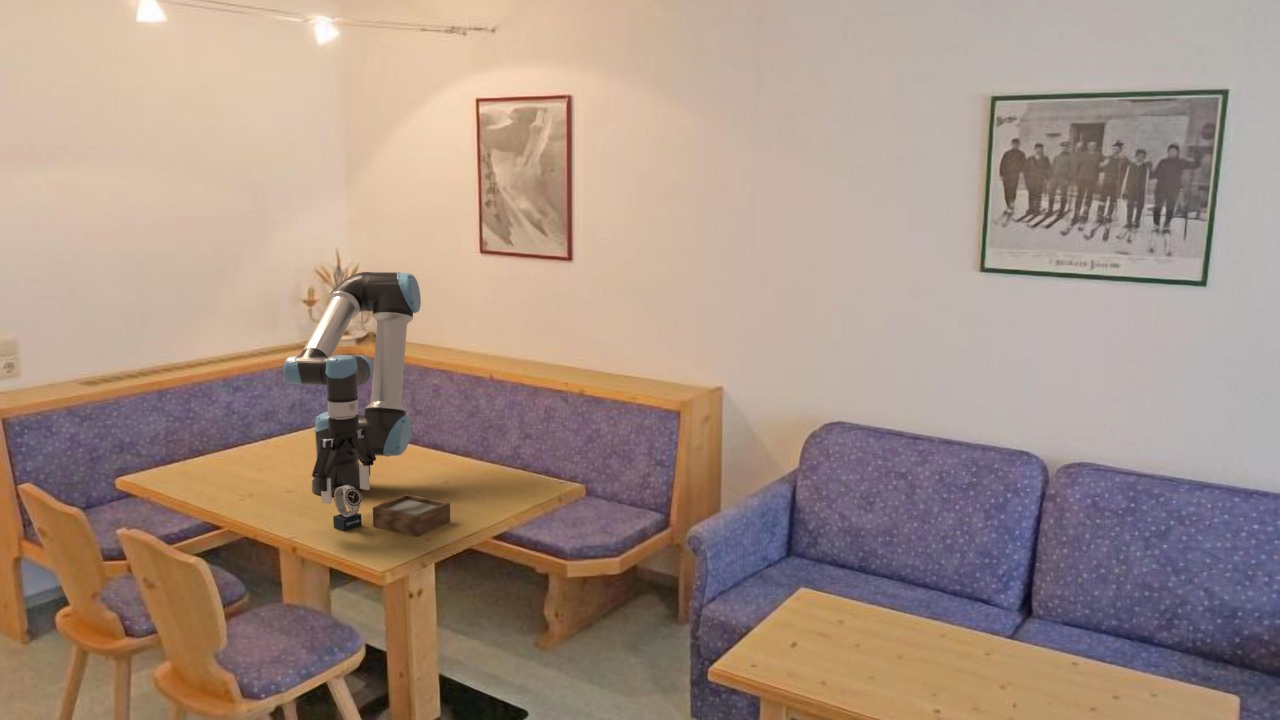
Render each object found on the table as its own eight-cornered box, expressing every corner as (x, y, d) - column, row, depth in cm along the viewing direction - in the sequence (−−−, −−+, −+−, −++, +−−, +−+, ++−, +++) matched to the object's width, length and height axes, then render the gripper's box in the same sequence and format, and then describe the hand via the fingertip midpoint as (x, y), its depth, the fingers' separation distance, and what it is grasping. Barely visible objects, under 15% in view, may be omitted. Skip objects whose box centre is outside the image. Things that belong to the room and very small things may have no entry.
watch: (348, 533, 257) (347, 492, 255) (329, 526, 261) (327, 486, 259) (366, 527, 261) (365, 487, 259) (347, 520, 266) (345, 480, 264)
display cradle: (373, 526, 262) (372, 507, 261) (406, 511, 273) (406, 493, 272) (417, 536, 255) (417, 517, 254) (450, 521, 266) (449, 502, 265)
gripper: (317, 427, 243) (320, 511, 247) (388, 408, 265) (390, 485, 268) (295, 423, 246) (298, 506, 250) (366, 405, 268) (369, 481, 272)
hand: (346, 495), depth 259 cm, fingers open, 13 cm apart
